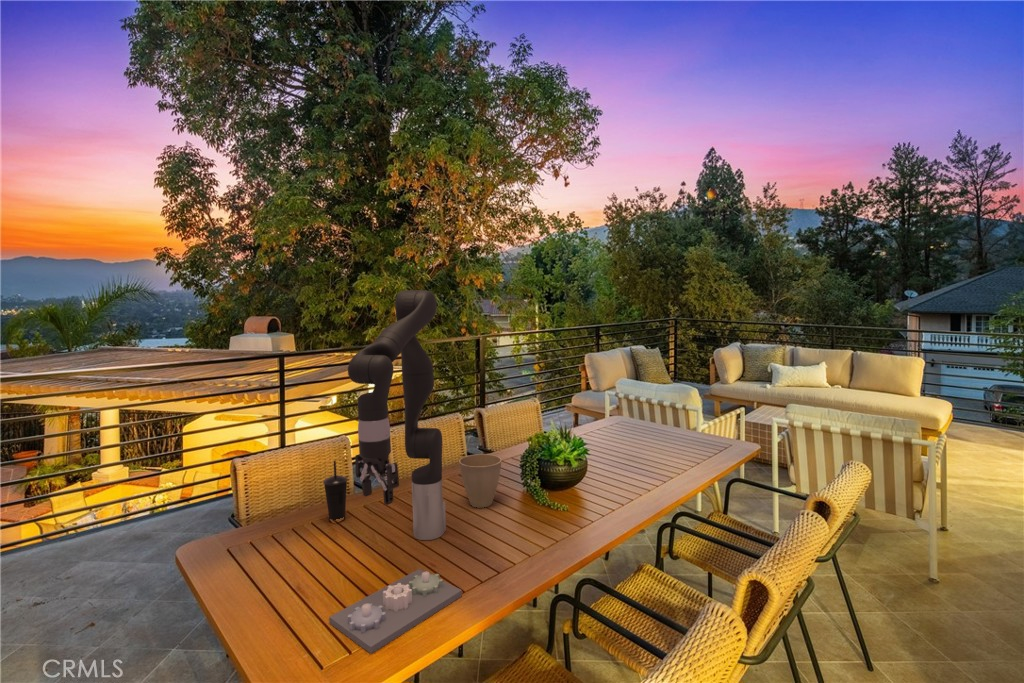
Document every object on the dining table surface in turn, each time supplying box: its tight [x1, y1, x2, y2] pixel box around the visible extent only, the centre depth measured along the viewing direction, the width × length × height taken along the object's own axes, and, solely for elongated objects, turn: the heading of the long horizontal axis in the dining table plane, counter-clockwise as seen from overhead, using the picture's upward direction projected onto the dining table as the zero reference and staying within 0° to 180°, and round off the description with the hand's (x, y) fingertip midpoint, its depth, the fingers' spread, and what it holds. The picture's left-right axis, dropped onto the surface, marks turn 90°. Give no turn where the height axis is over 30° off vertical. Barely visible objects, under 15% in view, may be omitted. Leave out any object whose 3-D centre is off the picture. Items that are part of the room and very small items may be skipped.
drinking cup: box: [322, 460, 349, 520], centre depth 168 cm, size 8×8×20 cm
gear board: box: [328, 568, 463, 655], centre depth 119 cm, size 26×16×5 cm, turn 140°
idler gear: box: [383, 583, 412, 612], centre depth 119 cm, size 6×6×3 cm
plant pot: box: [458, 453, 503, 509], centre depth 179 cm, size 15×15×16 cm
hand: (377, 499), depth 126 cm, fingers open, 8 cm apart
